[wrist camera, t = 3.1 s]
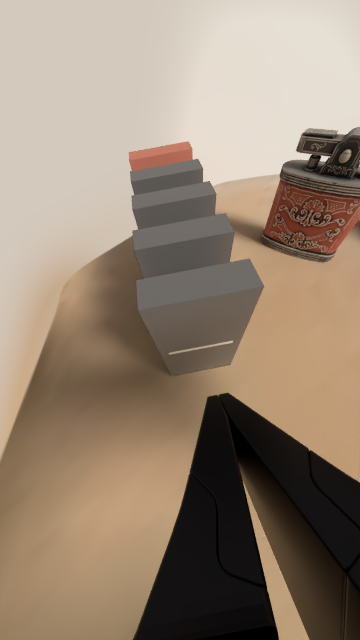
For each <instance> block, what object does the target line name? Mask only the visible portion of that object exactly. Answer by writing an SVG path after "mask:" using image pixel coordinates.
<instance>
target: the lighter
mask: <svg viewBox="0 0 360 640" xmlns="http://www.w3.org/2000/svg"><path fill="white" fill-rule="evenodd" d="M337 132H338V131H336V130H324V129H312V128H309V129H307V130H306V131H305V132H304V133H303V134H302V135H301V138H300V141H299V144H298V147H297V149H296V151H297V152H300V153H307V154H312V155H311V156H310V159H309V161H308V160H292V161H288V162H286V163H285V164H283V166H282V170H281V173H280V182H279V186H278V189H277V192H276V195H275V198H274V201H273V205H272V208H271V211H270V214H269V217H268V221H267V224H266V227H265V229H264V230H263V232H262V235H261V238H260V241H261V243H262V244H264V245H266V246H268V247H270V248H272V249H274V250H277V251H279V252H282V253H285V254H287V255H290V256H294V257H298V258H301V259H305V260H310V261H315V262H321V263H325V262H328V261H330V260H331V259H332V258H333V256H334V255H335V254H336V252H337V248H338V247H339V245H340V244H341V243H342V241H343V240H344V239H345V237H346V236H347V235H348V233H349V232H350V231H351V229H352V228H353V226H354V225H355V224H356V222H357V221H358V220H359V218H360V167H358V166H359V164H360V161H359V160H360V127H357V128H354V129H352V130H351V131H350V132H349V133H348V134H346V135H343V134H337ZM320 155H323V156H330V158H328V160H327V161H326V162H321V161H320V158H321V156H320Z"/></svg>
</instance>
